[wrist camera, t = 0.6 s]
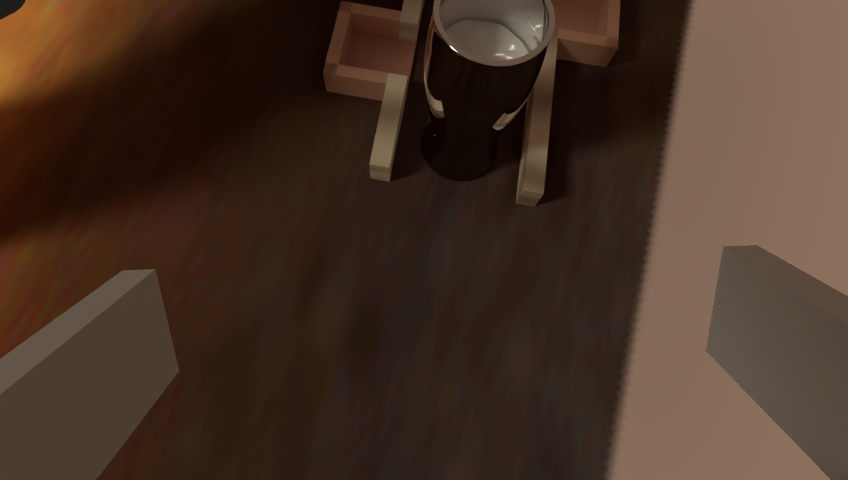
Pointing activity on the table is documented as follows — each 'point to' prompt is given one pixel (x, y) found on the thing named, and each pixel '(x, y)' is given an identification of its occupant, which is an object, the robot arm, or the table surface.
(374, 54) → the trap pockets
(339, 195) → the table surface
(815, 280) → the robot arm
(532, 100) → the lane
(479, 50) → the beer glass
